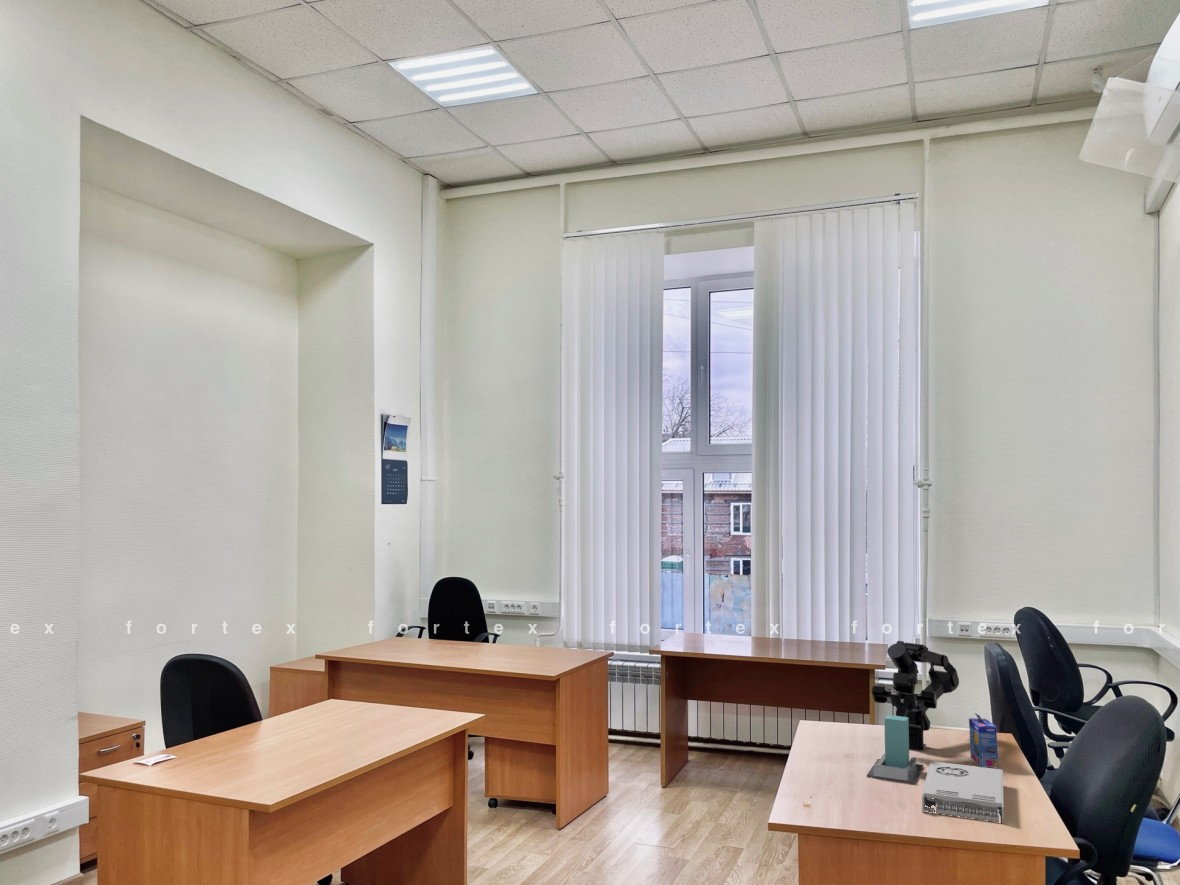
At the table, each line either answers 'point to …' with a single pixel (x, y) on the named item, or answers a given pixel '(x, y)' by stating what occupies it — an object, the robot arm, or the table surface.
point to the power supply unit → (964, 791)
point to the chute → (896, 771)
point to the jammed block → (896, 741)
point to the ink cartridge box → (983, 742)
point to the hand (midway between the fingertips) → (900, 720)
